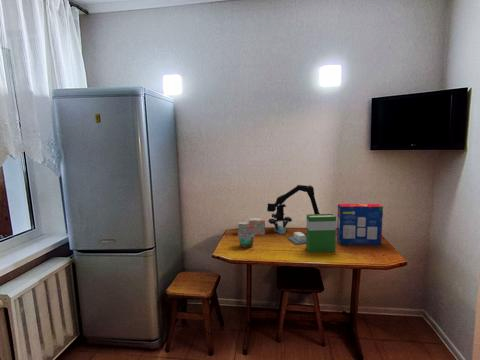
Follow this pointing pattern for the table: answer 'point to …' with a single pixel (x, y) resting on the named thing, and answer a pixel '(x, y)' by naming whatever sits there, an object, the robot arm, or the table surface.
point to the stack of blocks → (253, 226)
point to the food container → (245, 240)
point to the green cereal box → (321, 233)
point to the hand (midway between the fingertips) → (280, 230)
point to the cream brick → (299, 236)
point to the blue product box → (359, 224)
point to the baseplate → (297, 241)
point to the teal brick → (281, 229)
